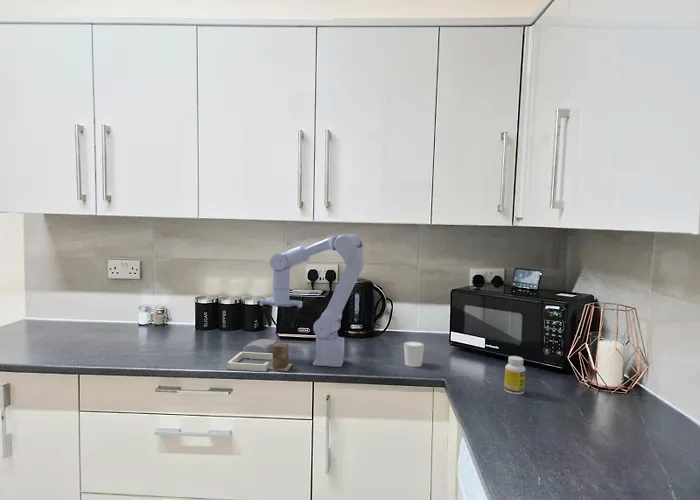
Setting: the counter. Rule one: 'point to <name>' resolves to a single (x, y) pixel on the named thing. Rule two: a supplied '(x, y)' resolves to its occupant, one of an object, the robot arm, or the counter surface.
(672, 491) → the counter surface
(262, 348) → the stone block
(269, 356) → the white open square frame
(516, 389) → the supplement bottle
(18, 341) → the counter surface
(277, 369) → the cork trivet
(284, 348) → the walnut block
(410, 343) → the shot glass
